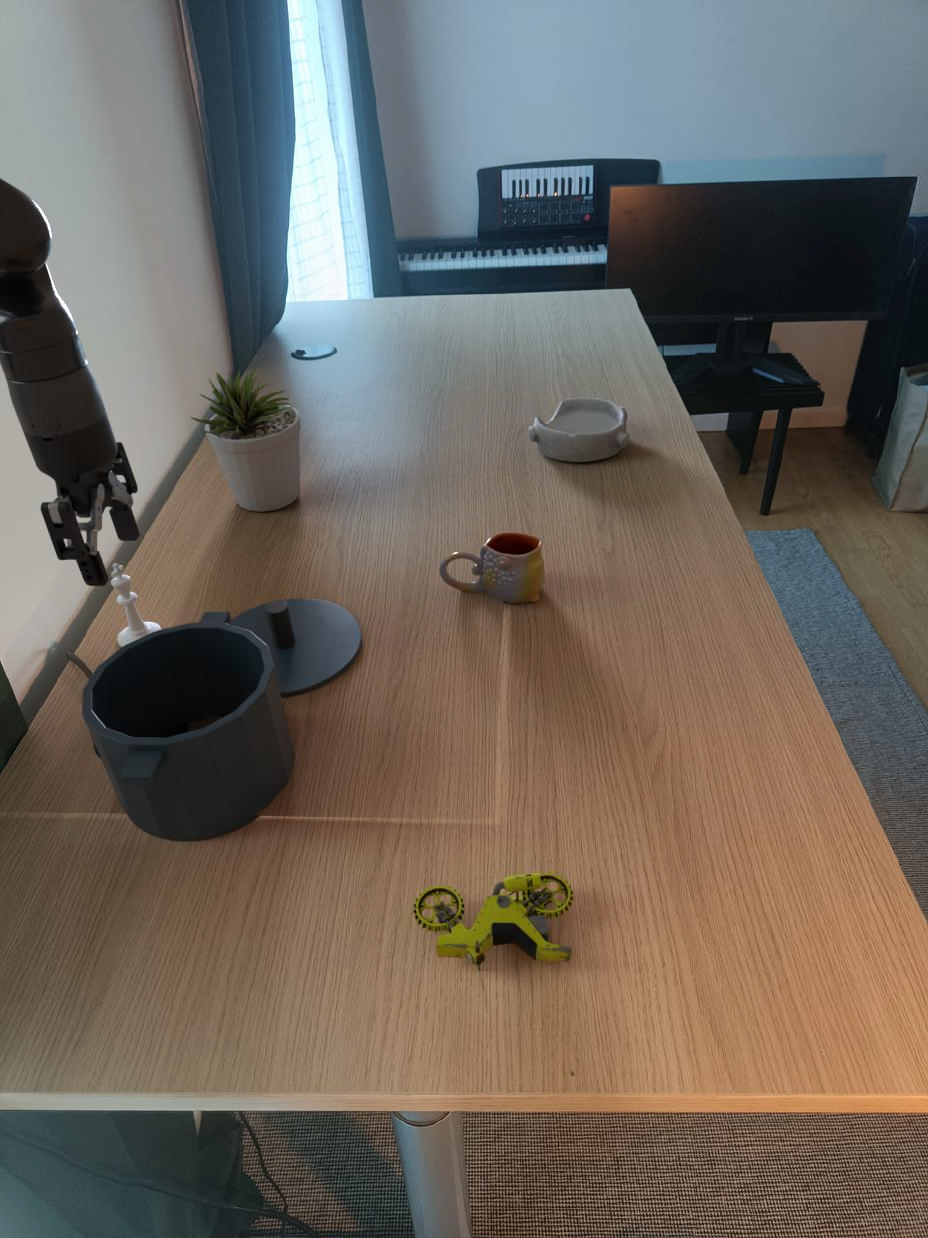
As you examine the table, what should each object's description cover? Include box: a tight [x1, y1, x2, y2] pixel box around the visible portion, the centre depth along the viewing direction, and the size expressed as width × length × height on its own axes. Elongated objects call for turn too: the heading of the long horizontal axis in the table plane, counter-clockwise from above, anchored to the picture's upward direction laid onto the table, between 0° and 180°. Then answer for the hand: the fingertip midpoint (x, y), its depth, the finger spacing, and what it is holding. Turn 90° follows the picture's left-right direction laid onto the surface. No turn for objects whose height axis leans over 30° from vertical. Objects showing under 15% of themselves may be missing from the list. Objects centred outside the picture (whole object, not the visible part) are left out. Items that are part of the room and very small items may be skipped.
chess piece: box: [110, 562, 163, 648], centre depth 94 cm, size 5×5×10 cm
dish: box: [527, 397, 630, 463], centre depth 129 cm, size 14×14×5 cm
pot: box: [81, 611, 296, 842], centre depth 77 cm, size 16×21×12 cm
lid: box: [229, 597, 363, 698], centre depth 92 cm, size 17×17×6 cm
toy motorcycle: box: [412, 871, 574, 972], centre depth 64 cm, size 12×4×7 cm
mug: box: [438, 531, 546, 605], centre depth 99 cm, size 12×7×7 cm, turn 90°
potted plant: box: [189, 366, 302, 513], centre depth 116 cm, size 13×14×20 cm
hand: (114, 560), depth 91 cm, fingers open, 8 cm apart
